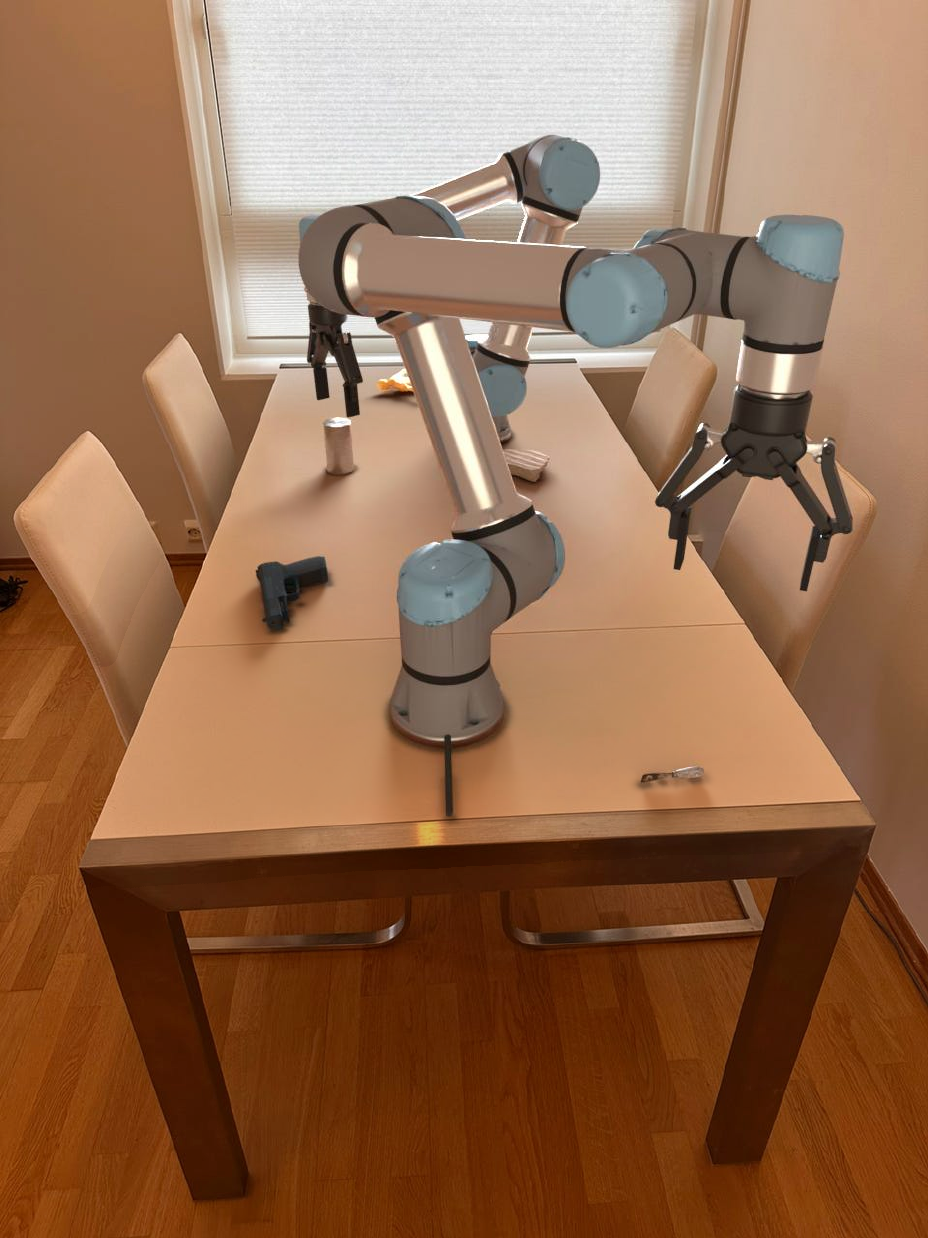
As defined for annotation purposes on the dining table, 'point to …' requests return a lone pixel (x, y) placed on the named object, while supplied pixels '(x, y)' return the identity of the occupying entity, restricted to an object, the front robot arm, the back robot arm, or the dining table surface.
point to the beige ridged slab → (526, 463)
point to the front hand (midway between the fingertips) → (739, 574)
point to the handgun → (287, 585)
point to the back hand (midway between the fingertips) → (337, 407)
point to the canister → (338, 446)
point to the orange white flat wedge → (396, 382)
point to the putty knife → (674, 774)
